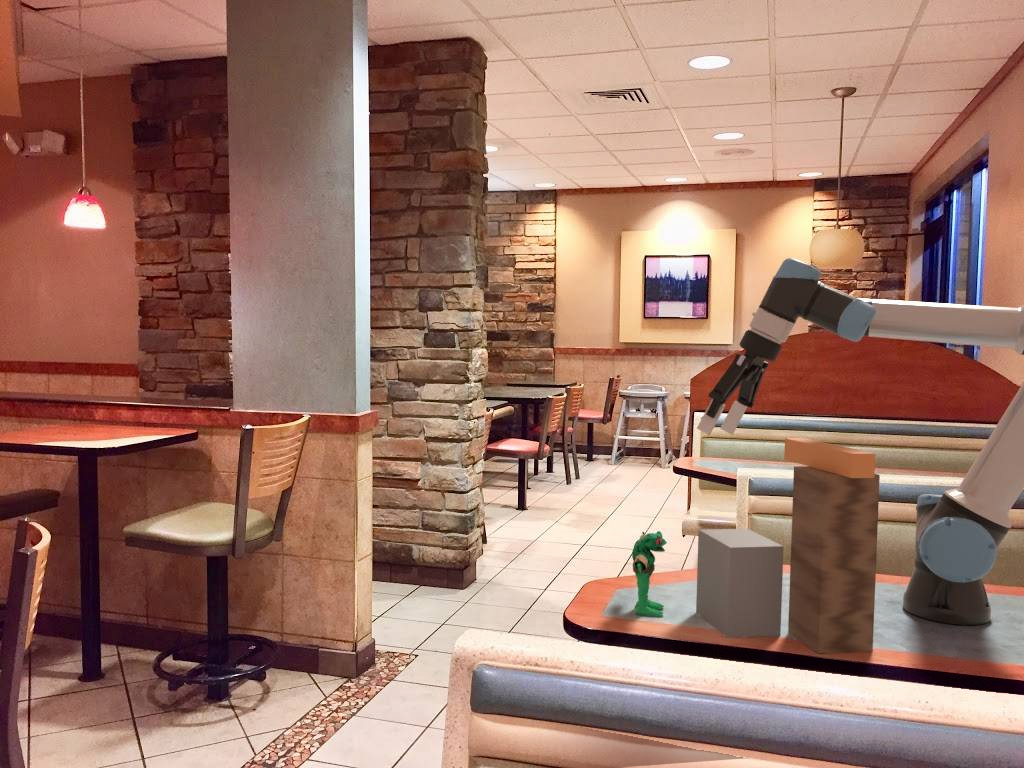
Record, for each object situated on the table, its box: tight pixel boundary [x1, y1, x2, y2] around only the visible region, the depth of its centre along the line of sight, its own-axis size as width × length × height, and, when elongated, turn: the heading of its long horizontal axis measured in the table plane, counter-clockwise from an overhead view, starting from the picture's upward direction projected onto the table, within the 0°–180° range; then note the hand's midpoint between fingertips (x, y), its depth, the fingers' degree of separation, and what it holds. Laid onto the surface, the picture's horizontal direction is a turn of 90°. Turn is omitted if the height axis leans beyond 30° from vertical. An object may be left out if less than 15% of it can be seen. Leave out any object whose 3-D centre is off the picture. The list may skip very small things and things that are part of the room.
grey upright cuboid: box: [695, 528, 785, 639], centre depth 151 cm, size 10×14×16 cm
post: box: [787, 465, 881, 655], centre depth 142 cm, size 10×10×30 cm
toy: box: [631, 530, 668, 618], centre depth 158 cm, size 26×6×15 cm, turn 168°
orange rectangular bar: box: [783, 437, 876, 478], centre depth 144 cm, size 4×22×4 cm, turn 10°
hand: (715, 431), depth 164 cm, fingers open, 13 cm apart
